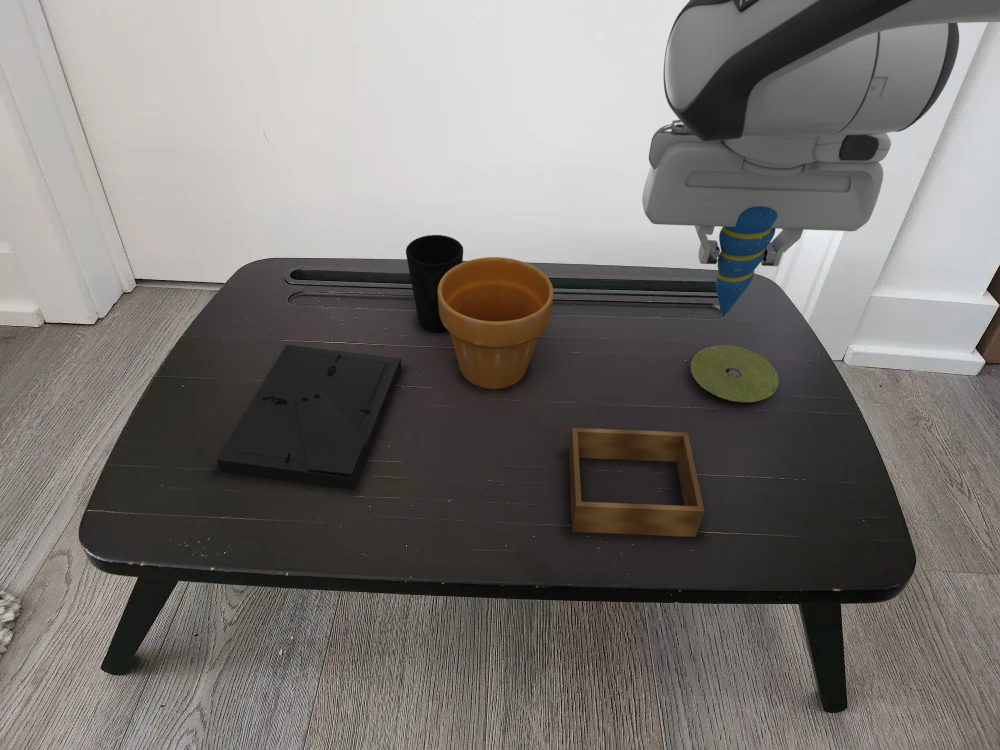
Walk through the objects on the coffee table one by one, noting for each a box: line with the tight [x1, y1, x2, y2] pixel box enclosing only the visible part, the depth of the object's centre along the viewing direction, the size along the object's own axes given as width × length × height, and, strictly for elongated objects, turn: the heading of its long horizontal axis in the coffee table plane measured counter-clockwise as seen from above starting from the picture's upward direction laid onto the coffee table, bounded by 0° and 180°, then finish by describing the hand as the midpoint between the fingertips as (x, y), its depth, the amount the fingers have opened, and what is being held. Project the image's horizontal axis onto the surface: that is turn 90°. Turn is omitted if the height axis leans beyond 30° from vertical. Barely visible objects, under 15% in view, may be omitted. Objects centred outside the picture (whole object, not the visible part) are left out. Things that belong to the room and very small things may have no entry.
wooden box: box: [568, 427, 705, 538], centre depth 80 cm, size 13×11×4 cm
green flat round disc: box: [689, 344, 780, 403], centre depth 95 cm, size 11×11×2 cm
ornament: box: [715, 206, 777, 314], centre depth 69 cm, size 5×5×15 cm
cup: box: [405, 234, 464, 334], centre depth 100 cm, size 8×8×12 cm
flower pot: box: [438, 256, 554, 390], centre depth 93 cm, size 14×14×13 cm
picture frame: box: [217, 344, 403, 491], centre depth 88 cm, size 16×3×21 cm
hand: (737, 261), depth 70 cm, fingers closed on ornament, 4 cm apart
